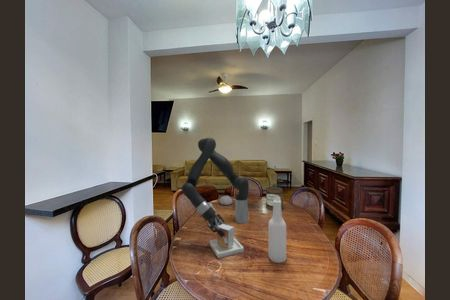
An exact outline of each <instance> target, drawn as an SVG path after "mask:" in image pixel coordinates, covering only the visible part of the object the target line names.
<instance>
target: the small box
mask: <svg viewBox="0 0 450 300" xmlns="http://www.w3.org/2000/svg"><path fill="white" fill-rule="evenodd" d="M220 224H221V223H220ZM218 227H219V230H221V231H222V232H223V234H224V236H223V237H220V236H219V234H218V233H217V232H216V234H217V235H216V239H217V245H220V246H222V247H225V248H227V249H229V248H230V247H231V246H233V245H234V238H235V233H234V232H235V226H231V225H228V224H225V223H224V224H221V225H218Z"/></svg>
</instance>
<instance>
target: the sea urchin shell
mask: <svg viewBox="0 0 450 300" xmlns="http://www.w3.org/2000/svg"><path fill="white" fill-rule="evenodd" d="M218 202H219V204H220V205H221V206H229V205H230V206H231V204H233V199H232V198H231V196H230V195H223V196H221V197H220V198H219V200H218Z"/></svg>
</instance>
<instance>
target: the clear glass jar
mask: <svg viewBox="0 0 450 300" xmlns="http://www.w3.org/2000/svg"><path fill="white" fill-rule="evenodd" d="M265 192H266V198H265V199H266V200H265V207H266V208H265V209H267V210H269V211H272V212H273V201H274V200H280V201H281V211H283V210H284V192H283V188H282V187H278V186H277V184H275V183H274V184H272V186H268V187H266V188H265Z"/></svg>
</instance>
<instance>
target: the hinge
mask: <svg viewBox="0 0 450 300" xmlns="http://www.w3.org/2000/svg"><path fill="white" fill-rule="evenodd" d="M207 203H208V204H209V205H210V206H211V207H212V208H213V209H214V211H215V212H217V210H216V209H215V208H214V206H213V204H212V202H207Z"/></svg>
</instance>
